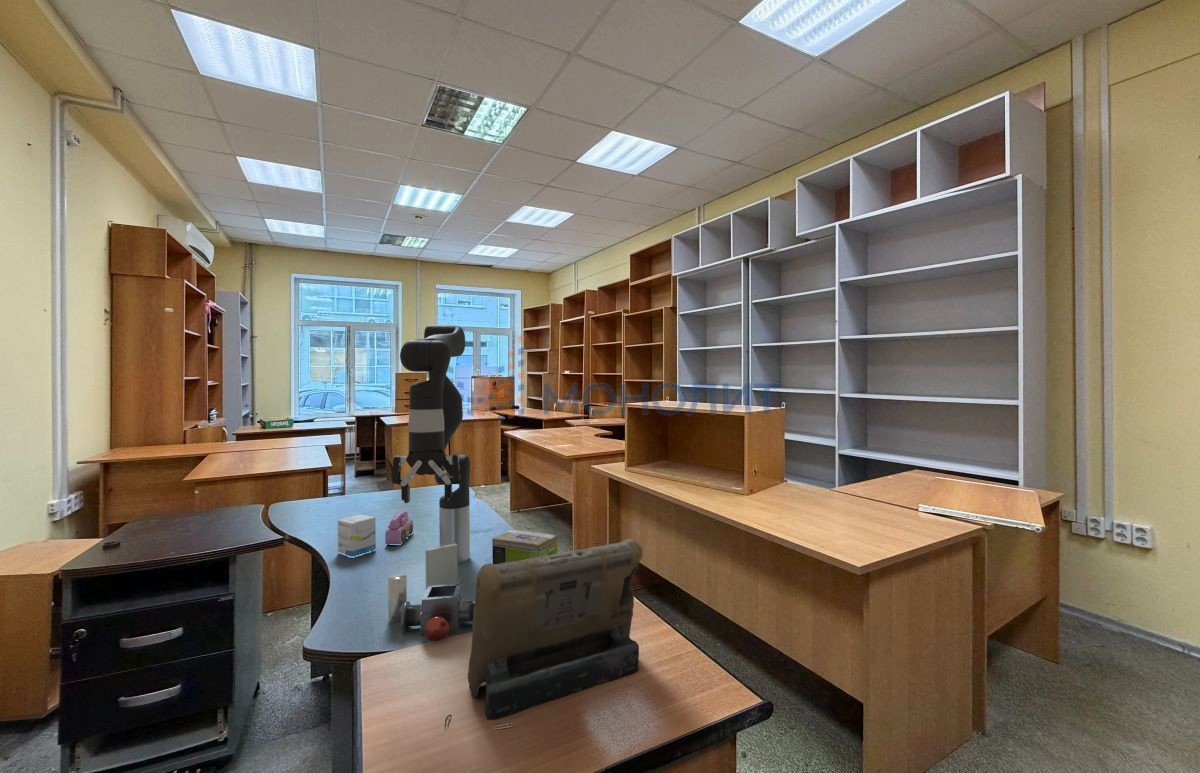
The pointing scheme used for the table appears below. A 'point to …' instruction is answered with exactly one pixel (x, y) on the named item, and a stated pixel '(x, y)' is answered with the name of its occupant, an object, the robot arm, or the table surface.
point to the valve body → (438, 612)
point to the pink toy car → (399, 528)
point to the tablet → (553, 626)
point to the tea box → (522, 546)
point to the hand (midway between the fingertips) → (427, 501)
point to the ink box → (356, 535)
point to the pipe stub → (396, 597)
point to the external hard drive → (442, 565)
